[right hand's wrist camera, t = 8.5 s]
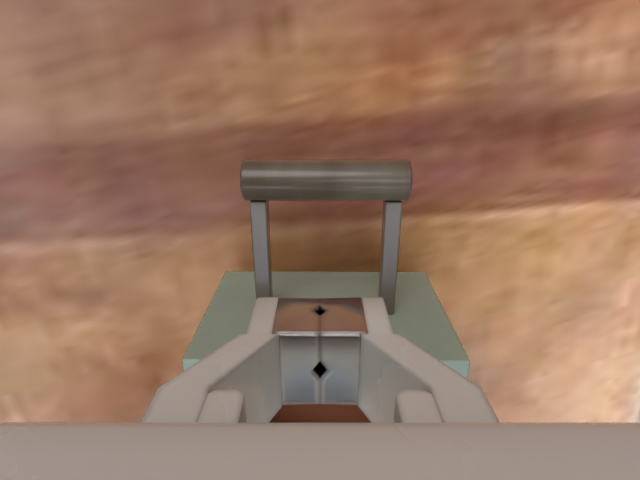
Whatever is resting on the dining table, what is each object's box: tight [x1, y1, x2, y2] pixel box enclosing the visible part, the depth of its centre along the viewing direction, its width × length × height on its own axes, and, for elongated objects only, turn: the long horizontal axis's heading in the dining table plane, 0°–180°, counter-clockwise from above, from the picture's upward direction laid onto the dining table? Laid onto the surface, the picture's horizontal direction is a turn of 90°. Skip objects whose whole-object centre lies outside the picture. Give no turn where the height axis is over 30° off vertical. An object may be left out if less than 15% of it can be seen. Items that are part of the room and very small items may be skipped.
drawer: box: [182, 160, 470, 423], centre depth 19 cm, size 23×10×7 cm, turn 0°
